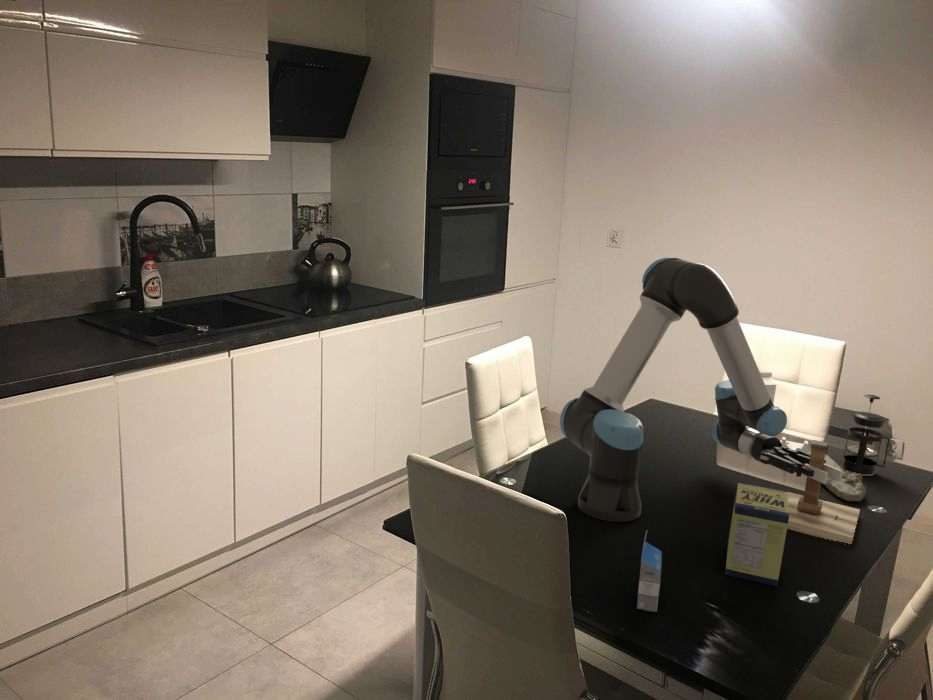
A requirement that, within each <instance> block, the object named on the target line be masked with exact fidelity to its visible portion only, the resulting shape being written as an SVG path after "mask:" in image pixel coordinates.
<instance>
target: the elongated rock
mask: <svg viewBox="0 0 933 700" xmlns="http://www.w3.org/2000/svg"><path fill="white" fill-rule="evenodd" d="M807 453H810V454H811V451H807ZM824 460H826V464H827V465H830V466H832V467H834V468H837V469H839V470H842V471H843V474H842V480H841V482H838V481H835V480H833V479H831V478H828V477H827V483H826V484H823V483H821V484H822V485H825V486H826V487H825V486H824V487H825V488H828V489H827V490H828V491H829V492H830V491H831V492H832V493H834V494H833V495H835V496H836V497H838V498H840V499H842V500H844V501H847V502H853V501H854V502H853V503H855V502H862V500H863V499H864V498H865V497H866V492H867V491H866V486H865V485H864V484H863V482H862V480H863V477H862V476H861V475H860V474H856V473H850V472H848V471H846V472H845V471H844V470H843V468H841V465H839V463H837V462H836V461H835V460H834V459H832V458H831V457H830V456H829V454H826V453H825V459H824ZM831 492H830V493H831ZM832 493H831V494H832Z"/></svg>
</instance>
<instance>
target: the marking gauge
mask: <svg viewBox="0 0 933 700" xmlns="http://www.w3.org/2000/svg"><path fill="white" fill-rule="evenodd" d="M828 444H829V442H826V441H821V440H817V439H812V441H811V443H810V452H811V454H810V460H809V465H811V466H813V467H816V468H818V469H820V470H823V466H824V459H825V454H826V453H827V448H828V446H829V445H828ZM821 484H822V483H821V482H819V481H816V480H814V479H812V478H810V477H807V476H806V480H805V488H804V494H803V495H802V496H801V497H800V499H799V501H798V506H797V510H801V511H805V512H809V513H813V514H818V515H819V513H820V511H821V509H822V503H823V501H824V500H823V501H821V500H822V499H819V495H820V490H821ZM818 499H819V500H818Z"/></svg>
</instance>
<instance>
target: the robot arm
mask: <svg viewBox="0 0 933 700" xmlns="http://www.w3.org/2000/svg"><path fill="white" fill-rule="evenodd" d="M641 280H642V281H641V283H642V292H641V294H640V296H639V300H640V301H639V302H640V307H639V309H638V311H637V312H636V314H635V315H634V317H633V319H632V321H631V322H630V324H629V325H628V328H626V331H625V333H624V334H623V336H622V337H621V338H620V341H619V343H618V344H617V346H616V348H614V351H613V352H612V354H611V356H610V357H609V358H608V361H607V362H606V364H605V366H603V367H604V368H603V369H602V371H601V372H600V374H599V375H598V377H597V378H596V381H595V383H594V384H593V385H592V386H591V387H588V388H584V389H583V391H582V393H581V394H580V395H579V397H575V398H574V399H571V400H570V401H568V402H567V403H566V404H565V405H564V407H563V408H562V409H561V413H560V417H559V426H560V429H561V433H562V434H563V436H564V437H565V438H566V439H568V441H569V442H570V443H571V445H573V446H576V447H577V448H578V449H580V450H581V451H583V452H584V453H585V454H587V455H588V456H589V466H588V475H587V478H586V479H585V482H584V483H583V485H582V488H581V490H580V492H579V494H578V497H577V498H578V500H577V508H578V509H579V510H580V511H581V512H582V513H584V514H585V515H587V516H588V517H591V518H595V519H597V520H601V521H605V522H613V523H625V522H632V521H634V520H637V519H638V518H639V517H640V516H641V513H642V512H641V511H642V502H641V495H640V490H639V486H638V478H639V477H638V476H639V470H640V462H641V456H642V455H641V453H642V448H643V447H642V446H643V443H644V425H643V423H642V422H641V420H640V419H639V418H638V417H637V416H635V415H633V414H631V413H629V412H625V409H624V406H623V405H624V403H625V401H626V399H627V397H628V396H629V394H630V393H631V391H632V388H633V387H634V385H635V384H636V382H637V381H638V380H639V377H640V376H641V374H642V373H643V370H644V369H645V367H646V365H647V364H648V363H649V360H650V359H651V357H652V356H653V354H654V353H655V351H656V349H657V347H658V346H659V344H660V342H661V340H662V339H663V337H664V335H665V334H666V332H667V331H668V329H669V327H670V326H671V324H672V323H674V322H678V321H681V319H682V317H683V316H684V315H685V312H686V311H688V312H689V313H691V315H693V316H694V317H695V319H696V320H697V322H698V324H699V326H700V328H702V329H703V330H706V332H707V333H708V336H709V338H710V340H711V342H712V345H713V347H714V349H715V351H716V354H717V356H718V358H719V360H720V362H721V365H722V367H723V369H724V372H725V374H726V377H727V378H728V379H727V380H722V381H720V382H718V383H717V384H716V385H715V387H714V394H715V396H714V400H715V405H716V411H717V416H718V417H717V418H718V419H716V421H715V422H714V423H713V425H712V430H711V436H712V438H713V440H714V441H715V442H716V443H718V444H720V445H722V447H725V448H727V449H730V450H732V451H736V452H737V453H740V454H742V455H744V456H745V457H748V459H750V460H755V461H758V462H759V463H762V464H764V465H770V466H772V467H775V468H777V469H779V470H782V471H783V472H786V473H789V474H791V475H793V474H795V475H796V477H798V478H799V477H800V478H801V477H802V475H803V476H805V477H806V478H807V477H810V478H812V479H814V480H816V481H819V482H821V484H822V483H823V484H826V483H827V477H828V478H831V479H833V480H835V481H838V482H841V480H842V474H843V471H842V470H839V469H837V468H834V467H832V466H830V465H827V464H826V460H824V466H823V470H820V469H818V468H816V467H813V466H811V465H809V460H810V453H808V451H807V452H805V451H803V450H802V449H800V448H796V451H795V450H792V449H789V448H788V447H785V446H782V444H781V442H780V440H781V439H780V438H778V437H777V436H778V435H779V434H781V433H783V432H784V430H785V428H786V427H787V424H788V416H787V414H786V412H785V411H784V410H783V409H781V408H780V407H779V406H775V404H774V403H773V402H772V400H771V398H770V395H769V393H768V391H767V388H766V386H765V383H764V381H763V379H762V376H761V374H760V373H761V372H760V369H759V366H758V365H757V362H756V360H755V357H754V355H753V353H752V351H751V348H750V345H749V344H748V341H747V339H746V336H745V334H744V332H743V329H742V326H741V324H740V321H739V320H738V315H739V314H740V311H739V308H738V305H737V303H736V301H735V298H734V297H733V295H732V293H731V291H730V289H729V288H728V285H727V284H726V283H725V281H724V280H723V278H722V277H721V276H720V275H719V274H718V272H717V271H715V270H714V269H713V268H712V267H710V266H709V265H706V264H703V263H697V262H692V261H689V260H686V259H681V258H677V257H662V258H659V259H657V260H654V261H653V262H652V263H651V264H649V266H648V267H646V269H645V271H644V273H643V275H642V279H641ZM823 484H822V485H823Z"/></svg>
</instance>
